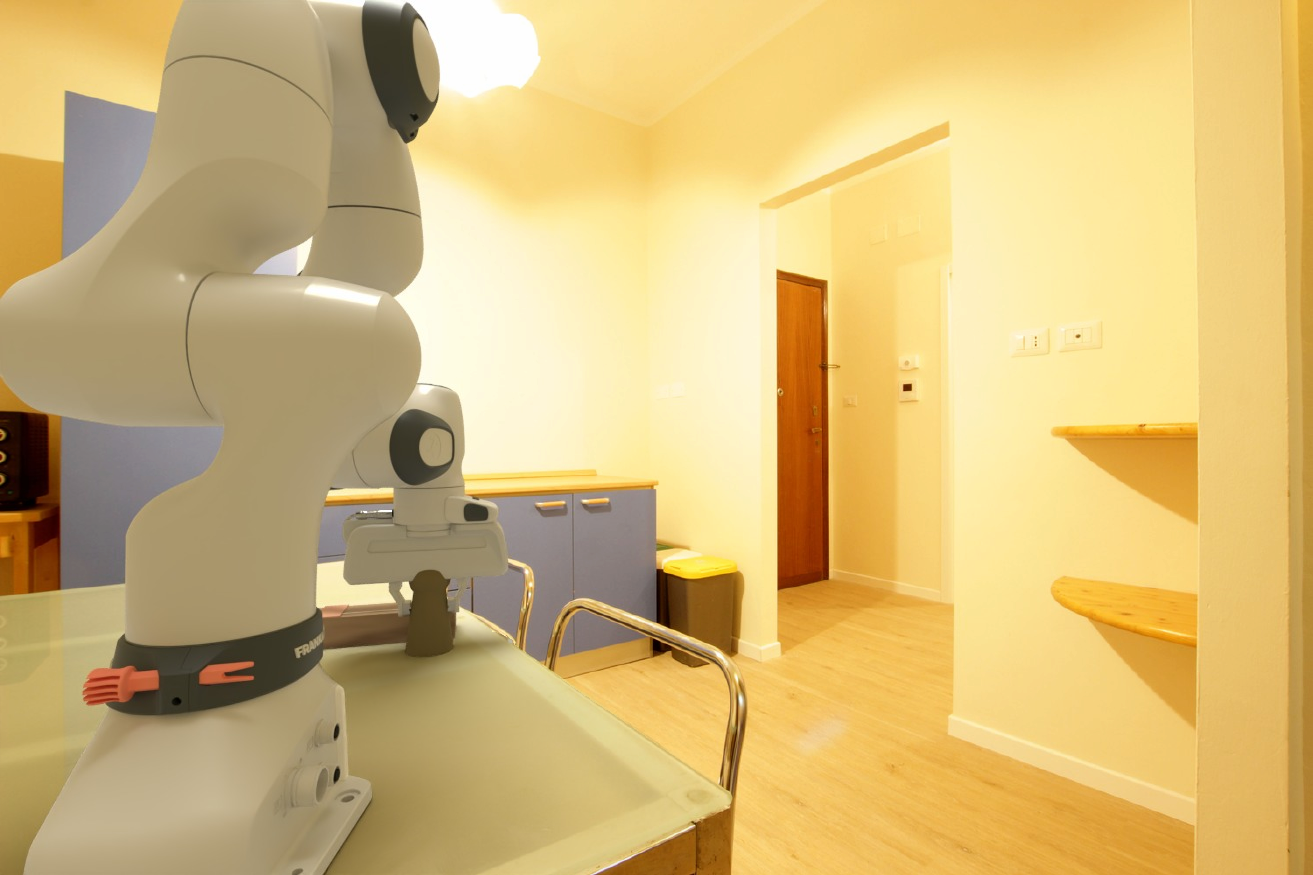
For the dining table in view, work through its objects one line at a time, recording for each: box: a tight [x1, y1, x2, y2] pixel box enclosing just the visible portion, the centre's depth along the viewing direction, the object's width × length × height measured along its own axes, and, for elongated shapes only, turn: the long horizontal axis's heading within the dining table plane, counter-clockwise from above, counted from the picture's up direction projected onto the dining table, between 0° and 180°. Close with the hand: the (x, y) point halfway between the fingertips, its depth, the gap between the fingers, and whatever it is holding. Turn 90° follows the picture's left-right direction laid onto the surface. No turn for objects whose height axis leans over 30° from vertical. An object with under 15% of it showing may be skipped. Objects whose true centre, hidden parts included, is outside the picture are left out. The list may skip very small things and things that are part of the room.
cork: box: [404, 570, 455, 658], centre depth 80 cm, size 6×6×11 cm
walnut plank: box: [318, 598, 457, 650], centre depth 84 cm, size 6×20×4 cm, turn 106°
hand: (429, 613), depth 80 cm, fingers open, 5 cm apart
